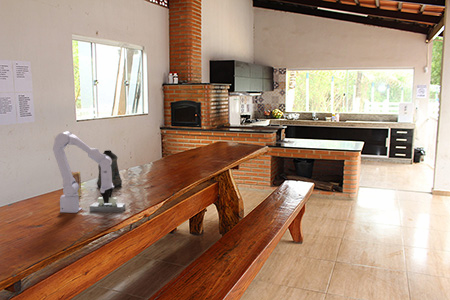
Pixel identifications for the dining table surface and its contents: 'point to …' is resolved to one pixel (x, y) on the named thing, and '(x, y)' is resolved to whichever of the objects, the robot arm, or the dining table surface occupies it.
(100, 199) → the notched cream block
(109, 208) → the grey block with holes
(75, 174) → the candy box
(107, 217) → the dining table surface
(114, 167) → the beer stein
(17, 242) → the dining table surface
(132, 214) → the dining table surface
